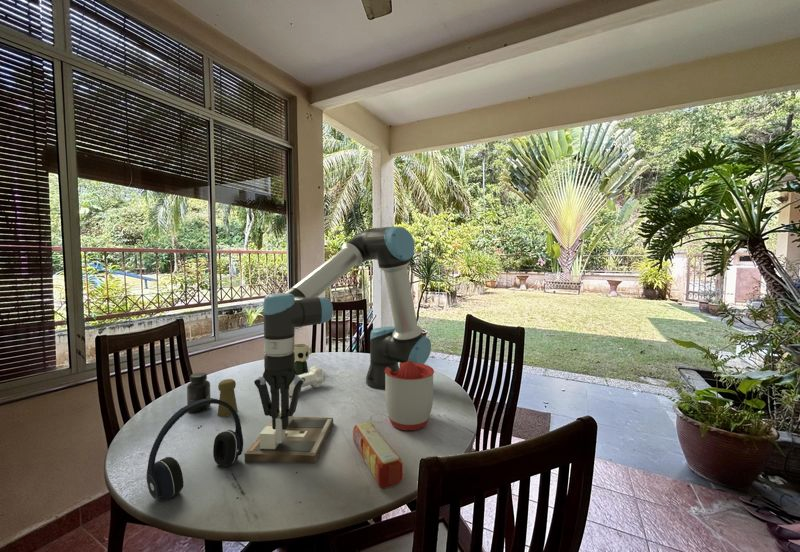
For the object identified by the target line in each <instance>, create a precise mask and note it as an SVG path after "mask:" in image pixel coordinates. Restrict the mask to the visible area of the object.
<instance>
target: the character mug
mask: <svg viewBox="0 0 800 552" xmlns="http://www.w3.org/2000/svg"><path fill="white" fill-rule="evenodd" d="M293 352H294V353H295V371H296V373H297V376H298V375H301V374H305V373H309V369H308V368H309V367H308V362H307V360H308V359H309V357H310V355H311V354H312V347H310V346H309V343H295V350H294V351H293Z"/></svg>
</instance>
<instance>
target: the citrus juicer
mask: <svg viewBox="0 0 800 552" xmlns="http://www.w3.org/2000/svg"><path fill="white" fill-rule="evenodd" d="M434 373H435V370H434V368H433V367H432V366H430V365H428V364H425V363H424V364H421V363H413V362H412V361H410V360H408V361H407V362H404V363H399V371H396V372H391V369H390V368H389V367H386V368H385V389H384V393H385V394H384V396H385V397H384V398H385V406H386V412H387V415H388V416H387V417H388V419H389V421H390V424H391V426H393V427H395V428H397V429H399V430H403V431H407V430H412V431H417V430H420V429H422V428H425V427H426V425H427V424H428V422H429V419H430V417H431V412H432V408H433V401H434Z"/></svg>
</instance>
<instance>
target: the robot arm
mask: <svg viewBox="0 0 800 552" xmlns="http://www.w3.org/2000/svg"><path fill="white" fill-rule="evenodd" d="M415 247H416V246H415V240H414V237H413V236H412V234H411V232H410V231H409V230H407V228H406V227H404V226H403V227H402V226H385V227H371V228H367V229H365V230H363V231H360V232H359V233H357V234H356V235H354V236H353V237H351V238H350V239H349V240H347V241H346V242H345V243H343V245H342V246H341V249H340V250H339V251H338V252H336V253H335V254H334V255H333V256H331V257H330V258H329V259H328V260H326V261H325V262H323V263H322V264H320V265H319V266H318V267H317V268H315V269H314V270H313V271H312V272H311V273H309V274H308V275H306V276H305V277H304V278H302V279H301V280H300V281H298V282H297V283H296V284H295V285H294V286H292V287H290V288H289V289H288V290H287V291H286V292H281V293H279V292H278V293H276V292H275V293H269V294H267V295H265V296H264V298H263V309H262V315H263V352H264V356H263V358H264V359H263V361H264V363H263V364H264V371H263V373H262V375H261V376H259V377H257V378H256V379H255V380H254V381H253V383H254V385H255V386H256V387H257V390H258V394H259V398H260V401H261V405H262V409H263V412H264V415H265V416H267V417H268V416H269V417H270V418H271V422H272V428H273V429H276V443H282V442H283V440H284V439H285V430H286V429H287V427H288V425H289V422H288V421H289V418H288V416H292V415H293V416H294V414H295V412H296V410H297V406H298V402H299V397H300V393H301V390H302V387H301V386H302V385H303V383H304V382H305V378H300V377H299V376H298V375H297V373H296V371H295V353H294V352H293V351H294V350H295V344H296V342H295V333H296V332H295V328H296V329H297V328H301V327H307V326H313V325H321V324H324V323H328V322H329V321H330V320H331V319H332V318H333V314H334V306H333V303H332V302H331V300H330V299H329V298H328V297H325V296H324V297H321V296H320V295H322V294H323V293H324V292H325V291H327V290H328V289H329V288H331V286H333V285H334V284H335V283H336V282H337V281H338V280H339V279H341V278H342V277H343V276H344V275H346V274H347V273H349V271H350V270H351V269H353V268H354V267H358V266H360V265H362V264H363V263H365V262H367V261H370V260H371V261H372V260H376V261H377V265H378V268H379V269H380V270H381V271H383V273H384V279H385V283H386V287H387V288H386V289H387V294H388V299H389V304H390V309H391V314H392V315H391V316H392V318H393V324H394V326H381V327H376V328H373V329H371V331H370V335H369V336H370V338H369V356H370V358H369V359H370V361H369V362H370V363H369V367H368V370H367V374H366V376H365V384H366V385H367V386H368V387H370V388H373V389H379V390H380V389H381V390H385V368H386V367H389V368H390V369H391V372H396V371H399V368H400V363H404V362H407V361H408V360H410V361H412V362H413V363H421V364H425V363H426V362H427V360H428V359H429V357H430V354H431V351H432V341H431V340H430V339H429V337H427V336H424V333H423V329H422V327H421V326H419V325H418V322H417V315H416V309H415V304H414V299H413V292H412V287H411V281H410V277H409V275H410V274H409V271H408V270H409V269H408V266H409V264H410V263H411V258H413V256H414V252H415ZM319 296H320V297H319ZM293 380H294V385H295V388H294V390H293V395H292V396H291V400H290V396H289V385H290V384H291V383H292V381H293ZM267 385H269V388H270V389H268V386H267ZM269 390H270V392H269ZM280 406H281V414H279V413H280V408H279V407H280Z"/></svg>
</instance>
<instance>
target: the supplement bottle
mask: <svg viewBox="0 0 800 552" xmlns="http://www.w3.org/2000/svg"><path fill="white" fill-rule="evenodd" d="M207 379H208V374H207V373H206V372H196V373H192V374H190V376H189V383H188V384H187V386H186V396H187V397H186V401H187V402H186V404H187V405H188V404H191V403H193V402H196V401H199V400H202V399H208V398H211V382H210V381H209V380H207ZM211 406H212V404H207V405H203V406H200V407H198V408H195V409H193V410H191V411H189V412H188V413H191V414H198V413H203V412H205V410H206V411H208V410H209V409H210V408H211ZM207 409H208V410H207Z"/></svg>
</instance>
